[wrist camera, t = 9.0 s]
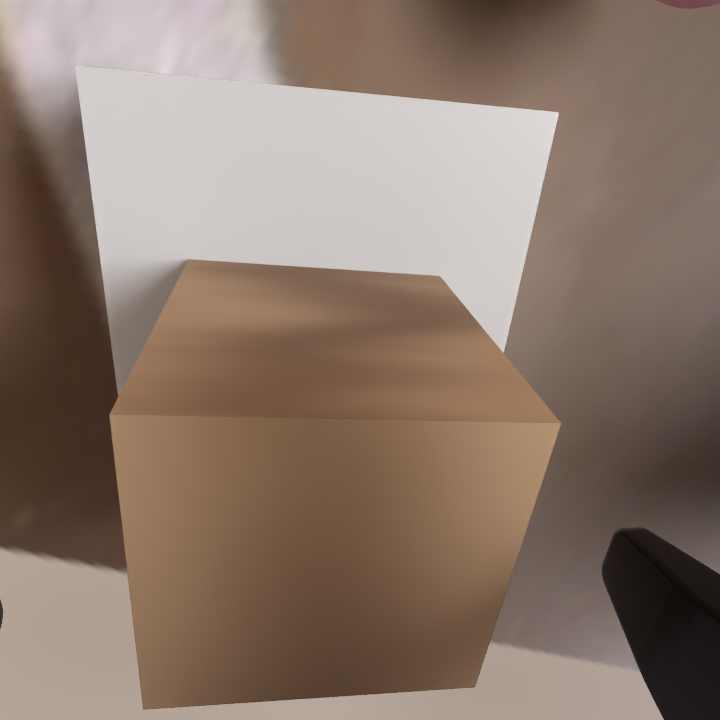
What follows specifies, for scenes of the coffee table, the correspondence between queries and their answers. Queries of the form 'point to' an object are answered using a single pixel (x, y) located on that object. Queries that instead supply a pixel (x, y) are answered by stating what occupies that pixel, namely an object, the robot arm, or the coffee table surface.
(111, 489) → the coffee table surface
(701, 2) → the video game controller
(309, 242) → the white rectangular box
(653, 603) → the robot arm
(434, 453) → the walnut block
